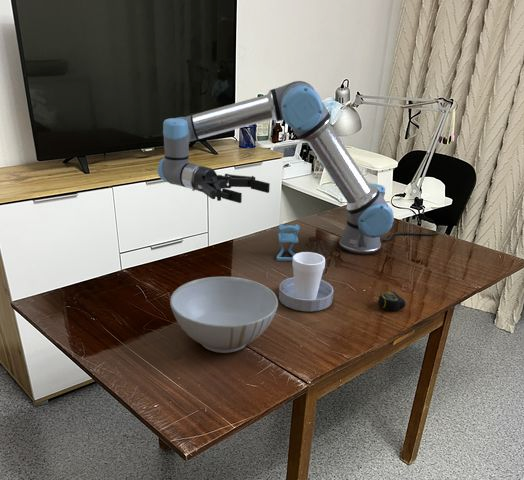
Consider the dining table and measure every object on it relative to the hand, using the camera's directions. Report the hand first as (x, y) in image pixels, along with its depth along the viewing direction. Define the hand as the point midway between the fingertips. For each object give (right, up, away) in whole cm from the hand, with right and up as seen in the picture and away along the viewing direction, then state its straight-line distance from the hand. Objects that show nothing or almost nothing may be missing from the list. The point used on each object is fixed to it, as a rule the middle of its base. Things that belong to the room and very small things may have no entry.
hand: (255, 193), depth 159 cm
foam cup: (+15, -30, +5) cm, 34 cm away
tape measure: (+40, -33, +4) cm, 52 cm away
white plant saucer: (+15, -31, +5) cm, 34 cm away
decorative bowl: (-8, -43, -16) cm, 47 cm away
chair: (+11, -13, +33) cm, 37 cm away
